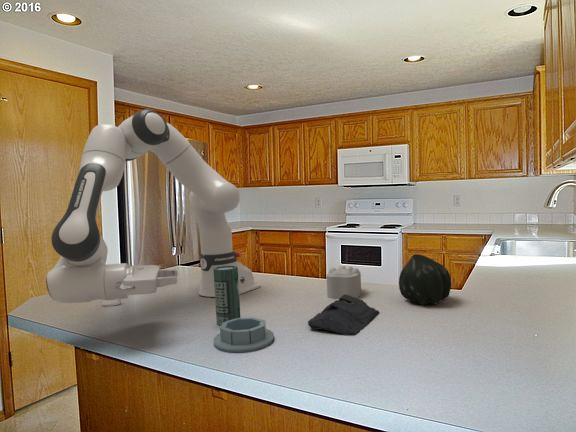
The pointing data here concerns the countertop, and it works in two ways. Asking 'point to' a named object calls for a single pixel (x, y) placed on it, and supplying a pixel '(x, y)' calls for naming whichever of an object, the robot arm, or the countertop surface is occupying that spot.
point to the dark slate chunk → (344, 316)
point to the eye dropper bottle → (111, 302)
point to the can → (226, 293)
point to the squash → (424, 280)
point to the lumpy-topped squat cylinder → (343, 282)
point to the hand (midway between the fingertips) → (177, 276)
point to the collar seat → (243, 335)
